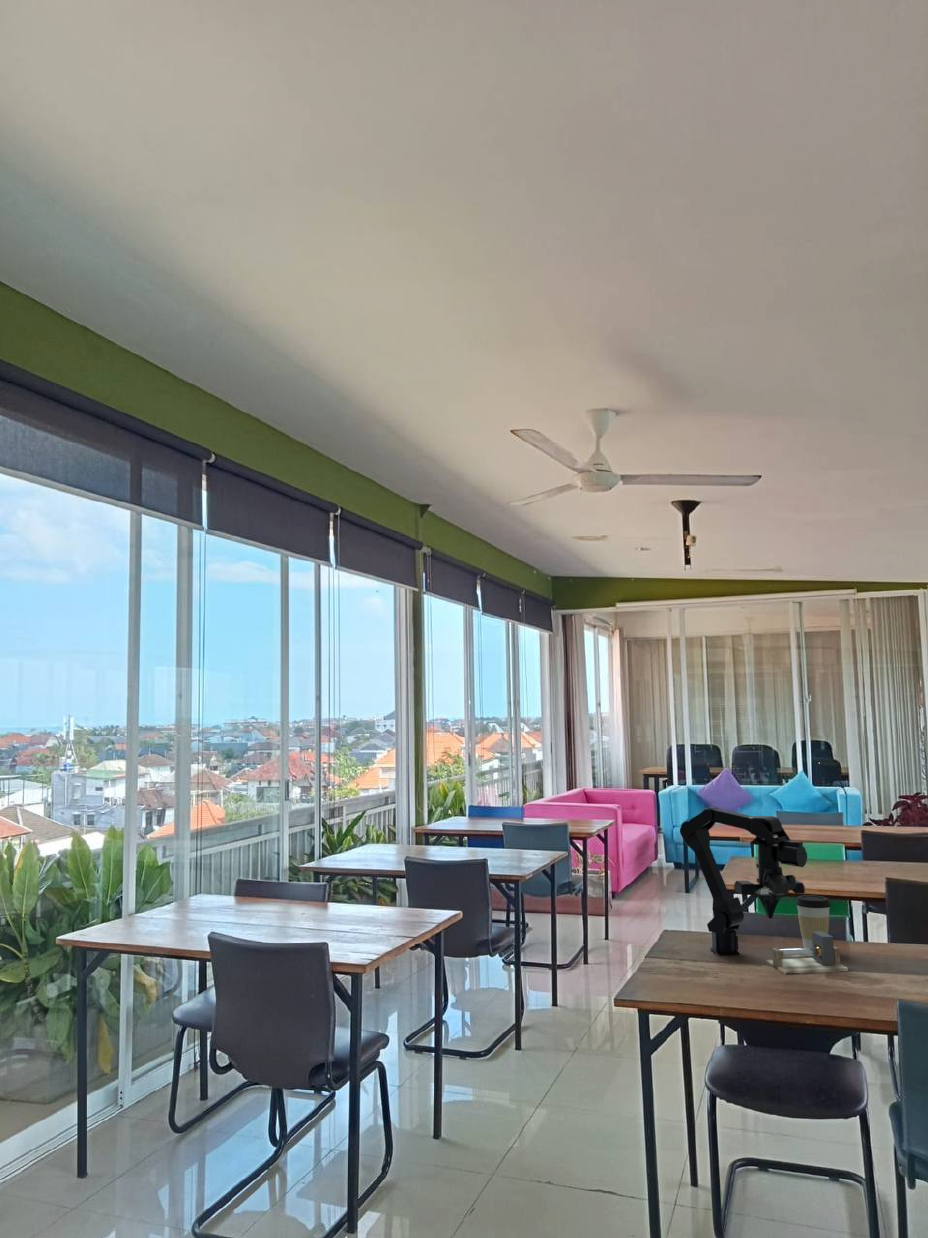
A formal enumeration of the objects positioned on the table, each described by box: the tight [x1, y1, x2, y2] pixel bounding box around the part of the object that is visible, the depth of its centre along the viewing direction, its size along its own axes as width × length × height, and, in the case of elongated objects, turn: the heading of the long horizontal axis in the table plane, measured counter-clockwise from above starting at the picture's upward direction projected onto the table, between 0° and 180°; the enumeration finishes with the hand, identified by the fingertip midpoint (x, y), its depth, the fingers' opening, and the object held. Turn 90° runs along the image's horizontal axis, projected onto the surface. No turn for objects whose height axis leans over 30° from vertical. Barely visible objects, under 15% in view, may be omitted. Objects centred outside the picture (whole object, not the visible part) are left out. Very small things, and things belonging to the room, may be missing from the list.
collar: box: [812, 931, 835, 965], centre depth 253 cm, size 3×6×7 cm, turn 7°
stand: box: [766, 945, 849, 974], centre depth 253 cm, size 18×11×5 cm, turn 97°
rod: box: [773, 947, 821, 958], centre depth 253 cm, size 18×2×2 cm, turn 97°
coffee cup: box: [795, 894, 832, 948], centre depth 270 cm, size 10×10×15 cm
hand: (769, 918), depth 258 cm, fingers closed
